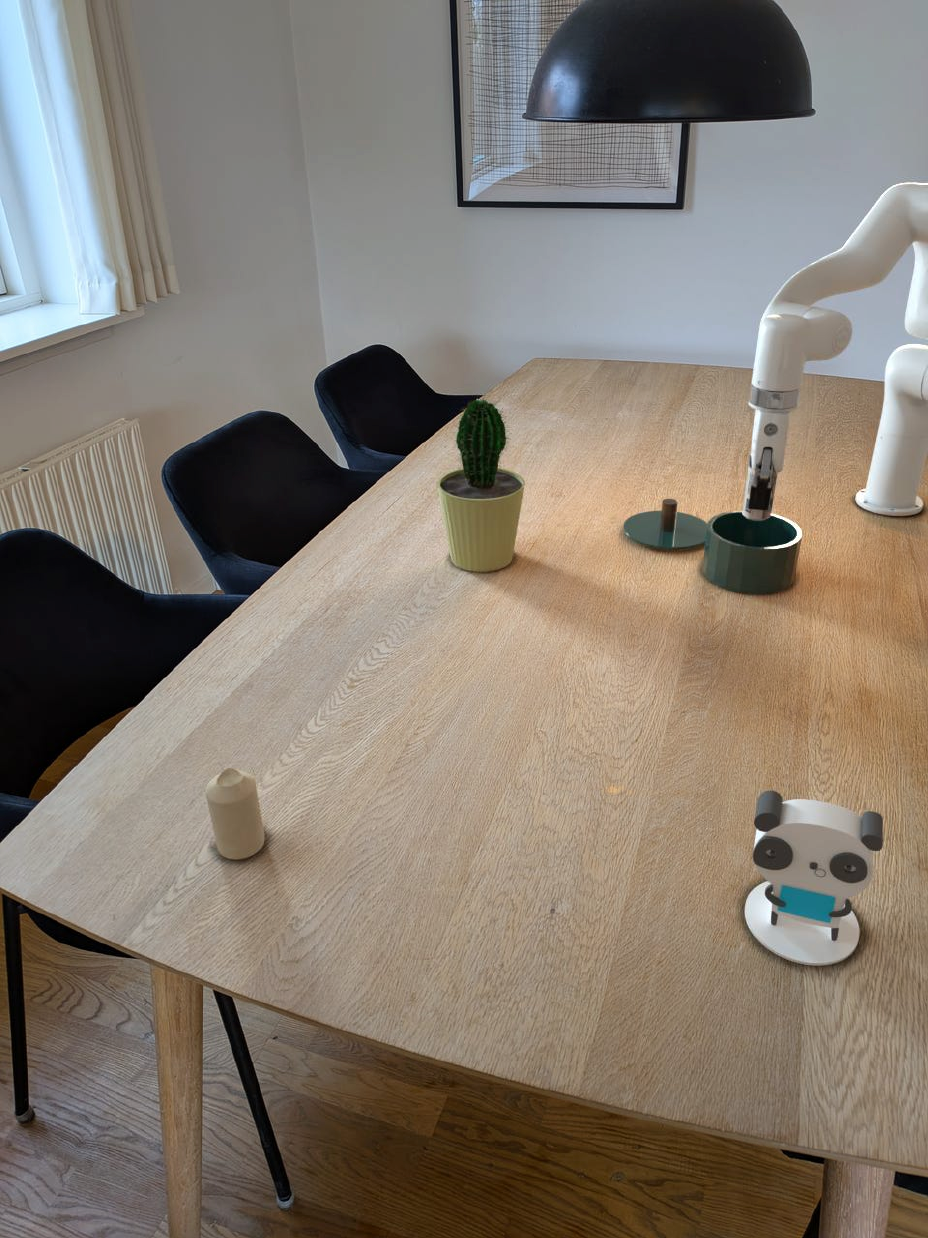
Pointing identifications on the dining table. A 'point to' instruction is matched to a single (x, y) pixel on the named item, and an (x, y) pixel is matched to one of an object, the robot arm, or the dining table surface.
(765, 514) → the beer can
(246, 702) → the dining table surface
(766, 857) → the panda figurine
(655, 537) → the lid
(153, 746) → the dining table surface
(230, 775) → the candle
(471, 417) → the potted cactus
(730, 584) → the pot
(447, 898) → the dining table surface
